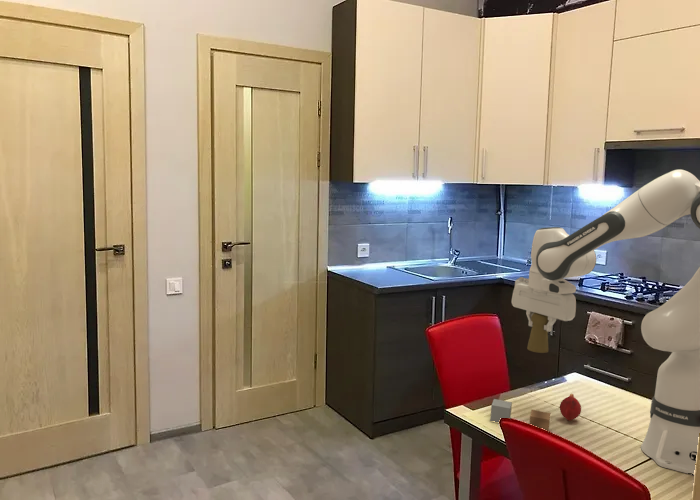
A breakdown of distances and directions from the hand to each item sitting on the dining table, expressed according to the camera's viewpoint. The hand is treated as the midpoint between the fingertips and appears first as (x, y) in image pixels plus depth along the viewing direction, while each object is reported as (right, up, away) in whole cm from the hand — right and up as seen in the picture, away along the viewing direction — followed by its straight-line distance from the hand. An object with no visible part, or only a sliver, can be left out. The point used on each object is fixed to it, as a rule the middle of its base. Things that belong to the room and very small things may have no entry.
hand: (539, 328), depth 174 cm
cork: (0, -7, +1) cm, 7 cm away
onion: (+8, -26, -3) cm, 27 cm away
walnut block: (-4, -27, -11) cm, 29 cm away
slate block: (-13, -25, -5) cm, 29 cm away
